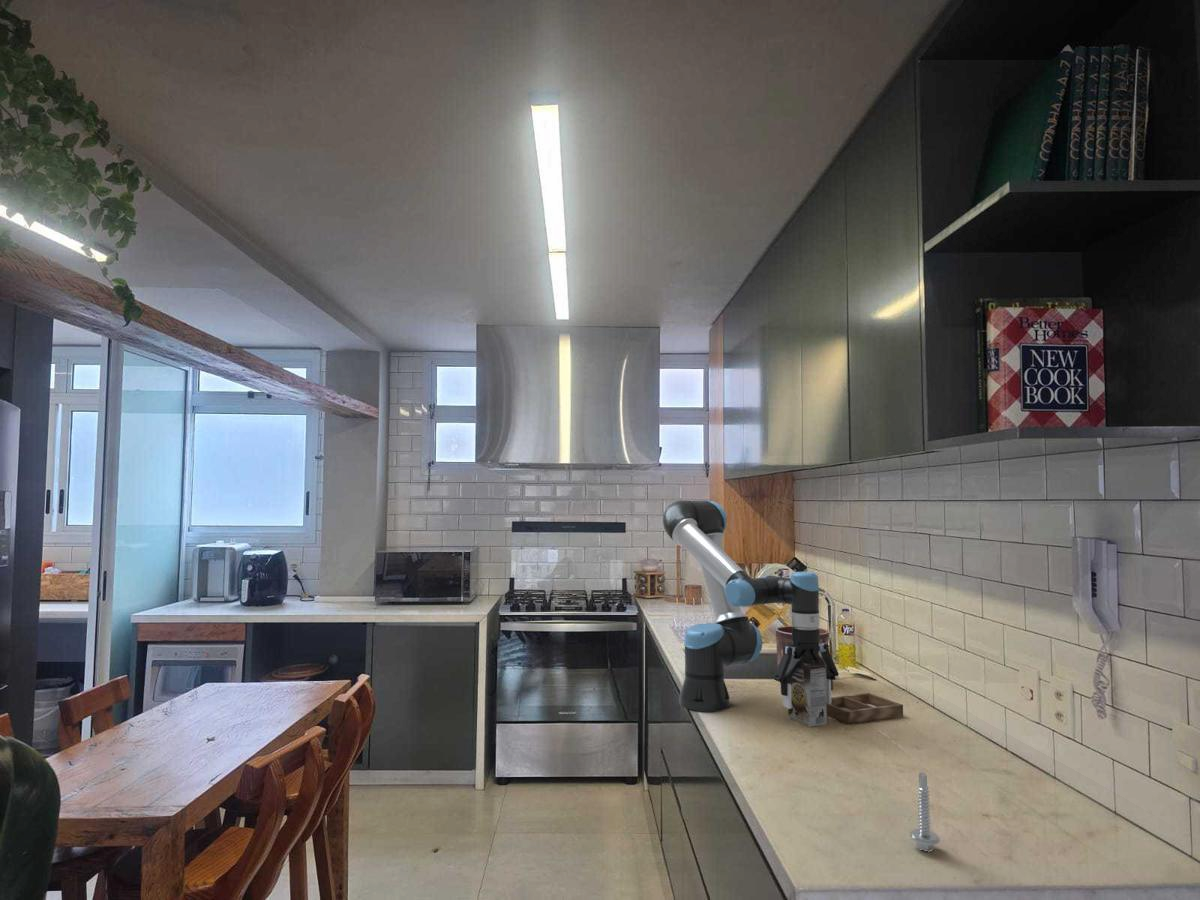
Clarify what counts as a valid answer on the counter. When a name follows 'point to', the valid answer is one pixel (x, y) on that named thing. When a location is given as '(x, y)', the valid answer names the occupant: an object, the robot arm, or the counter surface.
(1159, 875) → the counter surface
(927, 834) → the screw
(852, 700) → the walnut crate
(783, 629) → the pottery
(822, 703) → the coffee box
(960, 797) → the counter surface
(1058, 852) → the counter surface
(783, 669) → the robot arm
